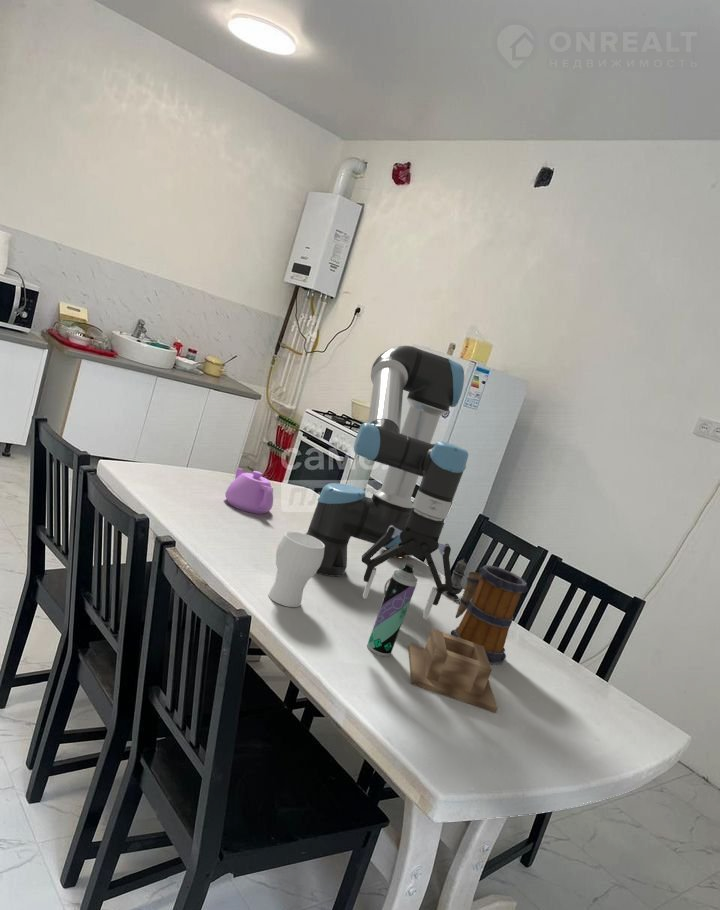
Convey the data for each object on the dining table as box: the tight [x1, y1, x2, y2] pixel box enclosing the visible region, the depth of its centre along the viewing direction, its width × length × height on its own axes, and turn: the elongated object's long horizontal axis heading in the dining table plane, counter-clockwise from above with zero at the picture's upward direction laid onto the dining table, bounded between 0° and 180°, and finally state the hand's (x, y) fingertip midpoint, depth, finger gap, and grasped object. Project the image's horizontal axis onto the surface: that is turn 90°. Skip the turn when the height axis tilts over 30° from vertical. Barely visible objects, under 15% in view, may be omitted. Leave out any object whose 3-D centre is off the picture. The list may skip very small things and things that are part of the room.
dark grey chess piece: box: [442, 558, 468, 600], centre depth 204 cm, size 6×6×12 cm
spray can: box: [366, 563, 418, 657], centre depth 148 cm, size 6×6×20 cm
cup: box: [268, 530, 325, 608], centre depth 158 cm, size 11×11×15 cm
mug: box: [450, 564, 529, 666], centre depth 170 cm, size 19×14×20 cm
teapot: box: [225, 467, 274, 515], centre depth 224 cm, size 22×16×12 cm
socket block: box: [407, 628, 499, 714], centre depth 147 cm, size 18×18×7 cm
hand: (394, 606), depth 148 cm, fingers open, 13 cm apart
